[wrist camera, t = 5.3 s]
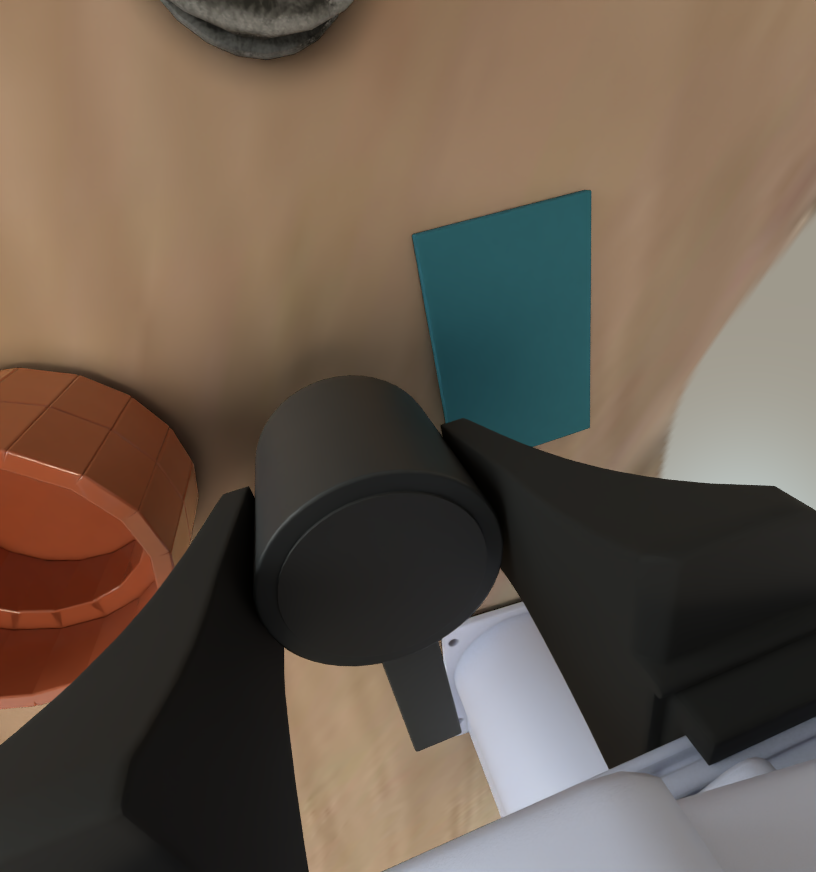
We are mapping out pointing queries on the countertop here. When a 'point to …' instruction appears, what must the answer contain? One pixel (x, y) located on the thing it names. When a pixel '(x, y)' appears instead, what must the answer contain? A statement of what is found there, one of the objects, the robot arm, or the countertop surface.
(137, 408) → the bowl
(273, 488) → the scoop
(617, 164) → the countertop surface
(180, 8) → the grey tall lumpy piece
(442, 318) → the cloth
